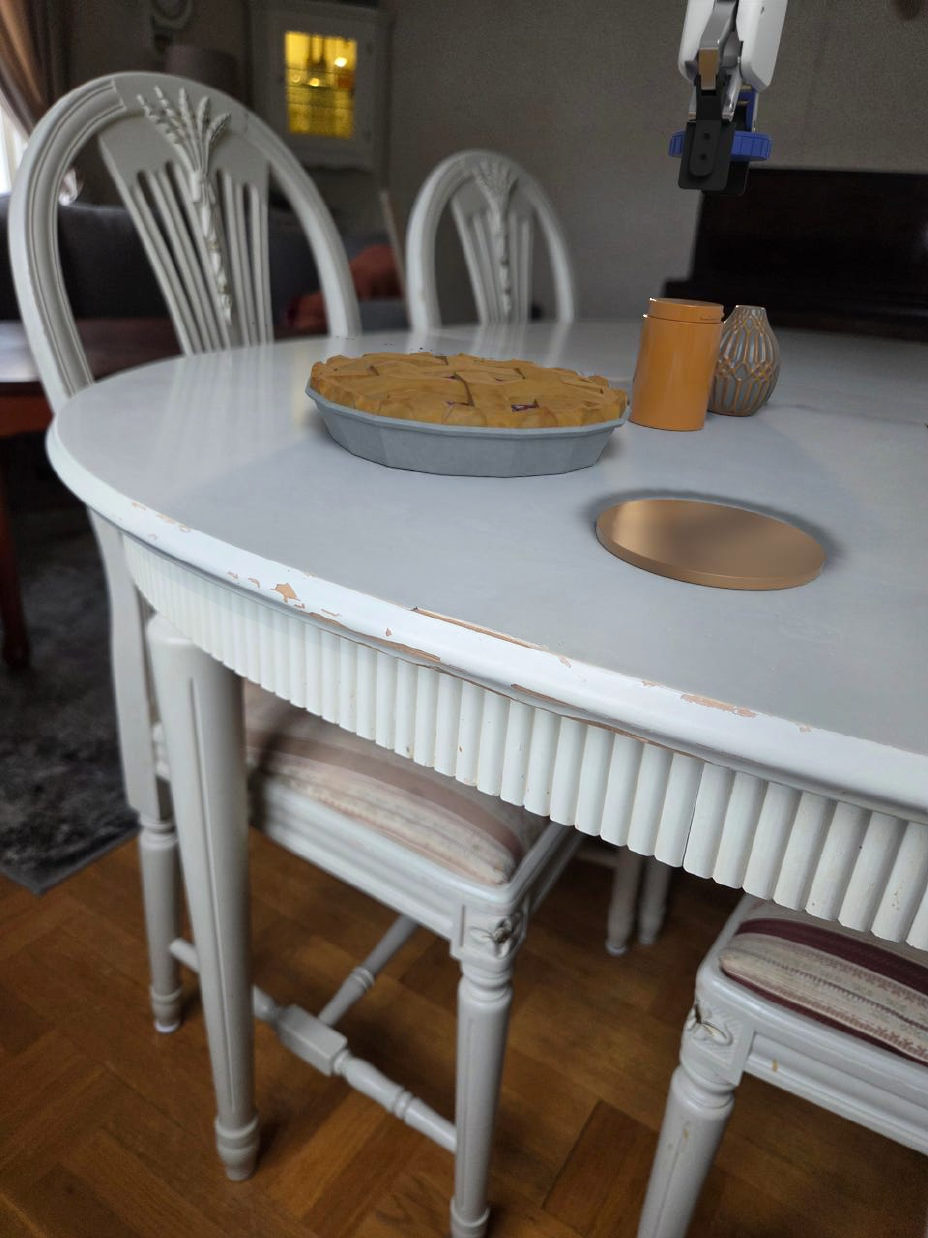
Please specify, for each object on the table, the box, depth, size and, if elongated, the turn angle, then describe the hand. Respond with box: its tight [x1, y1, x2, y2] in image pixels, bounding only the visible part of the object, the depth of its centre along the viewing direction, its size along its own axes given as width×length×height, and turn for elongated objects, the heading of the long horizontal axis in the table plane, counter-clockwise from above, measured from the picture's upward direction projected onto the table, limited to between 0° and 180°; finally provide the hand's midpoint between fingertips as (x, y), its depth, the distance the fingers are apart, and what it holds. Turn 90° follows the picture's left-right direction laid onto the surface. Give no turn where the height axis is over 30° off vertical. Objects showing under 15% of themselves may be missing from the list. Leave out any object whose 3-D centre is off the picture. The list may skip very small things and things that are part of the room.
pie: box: [304, 351, 631, 478], centre depth 56 cm, size 22×22×5 cm
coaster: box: [595, 498, 826, 591], centre depth 41 cm, size 11×11×1 cm
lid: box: [668, 129, 773, 163], centre depth 59 cm, size 7×7×1 cm
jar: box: [627, 297, 725, 432], centre depth 66 cm, size 6×6×9 cm
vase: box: [707, 304, 781, 417], centre depth 72 cm, size 7×7×9 cm
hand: (712, 190), depth 60 cm, fingers closed on lid, 6 cm apart
